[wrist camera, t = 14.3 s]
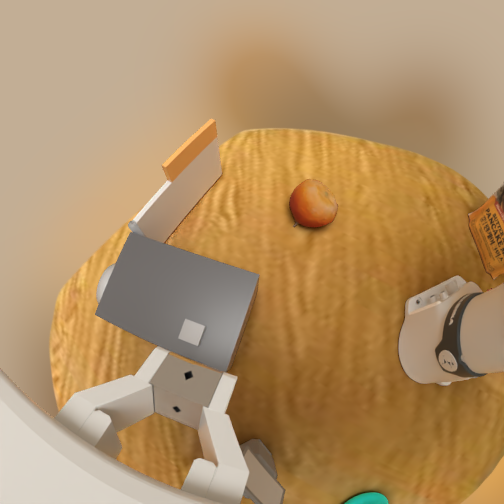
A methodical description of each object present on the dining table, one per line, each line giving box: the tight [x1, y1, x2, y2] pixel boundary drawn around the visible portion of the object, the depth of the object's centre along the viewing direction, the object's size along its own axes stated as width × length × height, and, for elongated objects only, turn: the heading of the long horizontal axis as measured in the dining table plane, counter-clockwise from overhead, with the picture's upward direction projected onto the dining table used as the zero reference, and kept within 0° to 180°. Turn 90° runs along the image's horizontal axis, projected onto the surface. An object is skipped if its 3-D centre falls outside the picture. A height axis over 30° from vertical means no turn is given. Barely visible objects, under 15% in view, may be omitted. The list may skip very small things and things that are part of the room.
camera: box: [240, 439, 285, 504], centre depth 25 cm, size 9×12×15 cm
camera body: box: [95, 232, 259, 372], centre depth 36 cm, size 20×12×11 cm, turn 72°
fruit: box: [289, 179, 338, 227], centre depth 44 cm, size 8×8×8 cm
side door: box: [128, 119, 222, 243], centre depth 40 cm, size 19×1×14 cm, turn 146°
